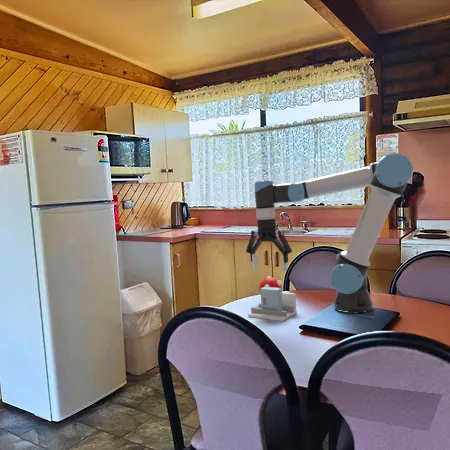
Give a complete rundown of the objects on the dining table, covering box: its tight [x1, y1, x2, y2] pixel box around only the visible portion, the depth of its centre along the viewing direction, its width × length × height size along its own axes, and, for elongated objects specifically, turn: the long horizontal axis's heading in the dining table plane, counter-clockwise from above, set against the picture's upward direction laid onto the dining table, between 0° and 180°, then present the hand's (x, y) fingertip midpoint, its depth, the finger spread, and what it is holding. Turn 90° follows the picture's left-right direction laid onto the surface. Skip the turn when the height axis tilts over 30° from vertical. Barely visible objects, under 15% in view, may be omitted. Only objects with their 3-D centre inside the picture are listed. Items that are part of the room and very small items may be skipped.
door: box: [259, 287, 283, 311], centre depth 171 cm, size 8×4×10 cm, turn 54°
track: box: [247, 292, 298, 322], centre depth 171 cm, size 16×12×8 cm
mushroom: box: [258, 276, 283, 291], centre depth 189 cm, size 11×11×12 cm
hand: (269, 270), depth 170 cm, fingers open, 13 cm apart
